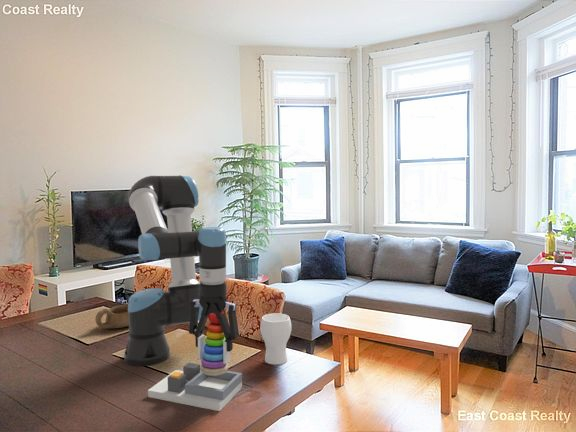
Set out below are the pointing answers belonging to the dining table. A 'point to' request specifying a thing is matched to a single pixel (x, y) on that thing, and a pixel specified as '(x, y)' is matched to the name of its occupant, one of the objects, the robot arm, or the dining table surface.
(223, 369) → the stacking toy
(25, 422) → the dining table surface
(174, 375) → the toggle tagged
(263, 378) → the dining table surface
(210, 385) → the panel
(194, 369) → the toggle
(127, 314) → the brown mug
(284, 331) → the cup
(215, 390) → the frame
